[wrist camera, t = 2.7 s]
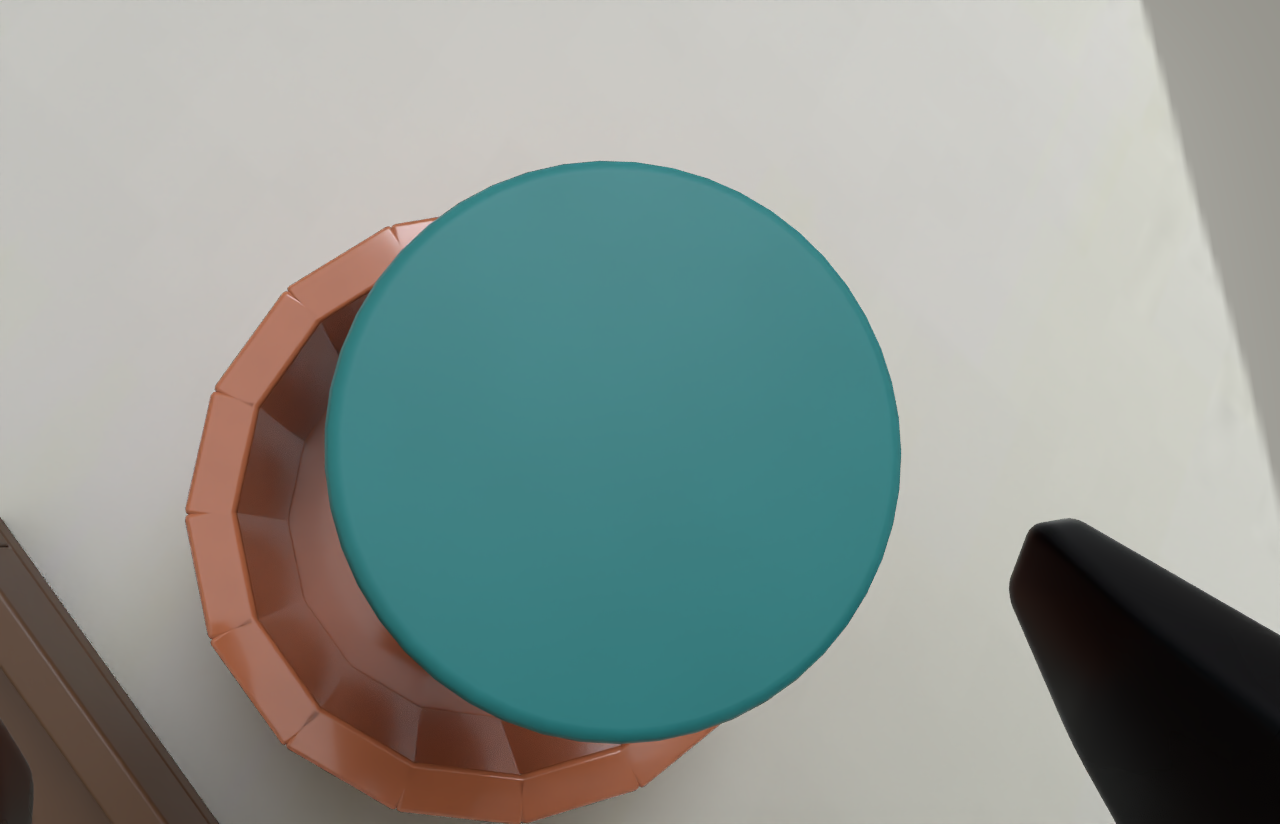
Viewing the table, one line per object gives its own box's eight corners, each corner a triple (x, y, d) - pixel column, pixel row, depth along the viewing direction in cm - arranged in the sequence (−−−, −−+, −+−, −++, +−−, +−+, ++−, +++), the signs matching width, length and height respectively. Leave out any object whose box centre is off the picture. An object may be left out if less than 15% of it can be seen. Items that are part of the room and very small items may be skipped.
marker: (615, 533, 18) (1011, 508, 5) (473, 640, 17) (561, 880, 5) (516, 393, 18) (692, 55, 5) (369, 493, 17) (192, 360, 5)
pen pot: (788, 563, 19) (911, 570, 14) (435, 841, 17) (435, 959, 12) (545, 218, 19) (583, 104, 14) (164, 461, 17) (55, 427, 12)
